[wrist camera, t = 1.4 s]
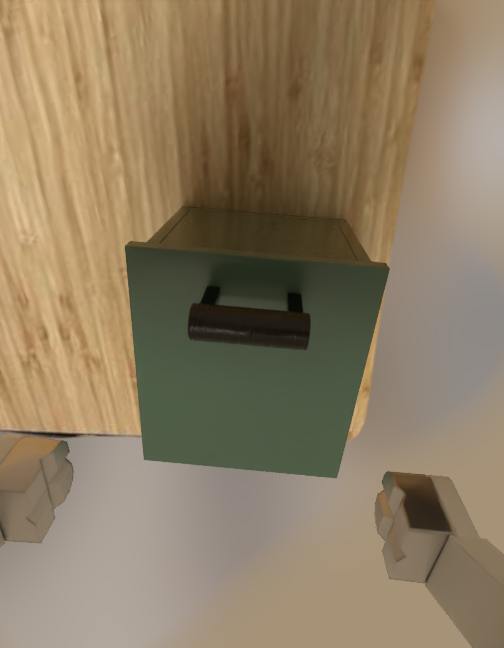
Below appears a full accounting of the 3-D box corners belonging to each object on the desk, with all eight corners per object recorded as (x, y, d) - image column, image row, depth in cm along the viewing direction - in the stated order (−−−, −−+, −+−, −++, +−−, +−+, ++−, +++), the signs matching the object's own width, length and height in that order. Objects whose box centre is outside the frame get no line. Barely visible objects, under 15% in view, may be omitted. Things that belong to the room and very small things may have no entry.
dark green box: (181, 206, 30) (131, 255, 20) (346, 219, 30) (382, 277, 20) (184, 354, 37) (147, 450, 26) (318, 366, 36) (335, 468, 26)
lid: (130, 240, 19) (89, 277, 15) (386, 262, 19) (416, 305, 15) (147, 450, 26) (122, 515, 22) (335, 468, 26) (346, 537, 22)
